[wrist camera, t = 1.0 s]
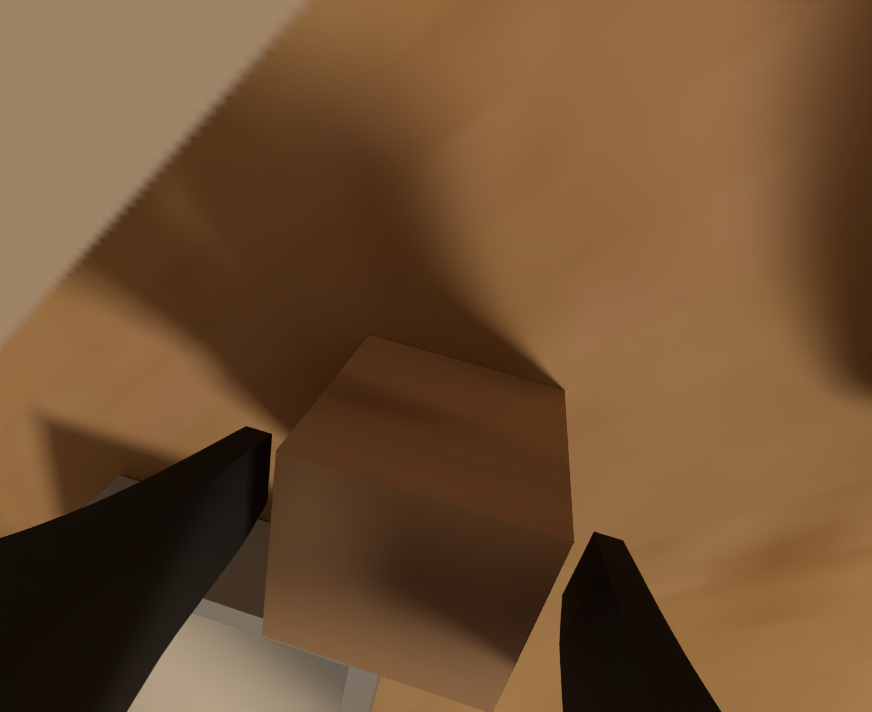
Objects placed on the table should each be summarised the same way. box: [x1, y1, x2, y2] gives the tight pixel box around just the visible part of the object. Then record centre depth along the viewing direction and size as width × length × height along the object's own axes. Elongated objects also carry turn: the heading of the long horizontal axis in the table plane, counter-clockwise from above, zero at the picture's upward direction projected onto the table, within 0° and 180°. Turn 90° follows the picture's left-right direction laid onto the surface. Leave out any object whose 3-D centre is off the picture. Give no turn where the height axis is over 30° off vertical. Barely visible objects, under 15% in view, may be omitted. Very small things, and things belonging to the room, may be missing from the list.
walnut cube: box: [262, 335, 574, 712], centre depth 11 cm, size 5×5×5 cm
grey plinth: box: [82, 475, 380, 712], centre depth 17 cm, size 10×10×3 cm
